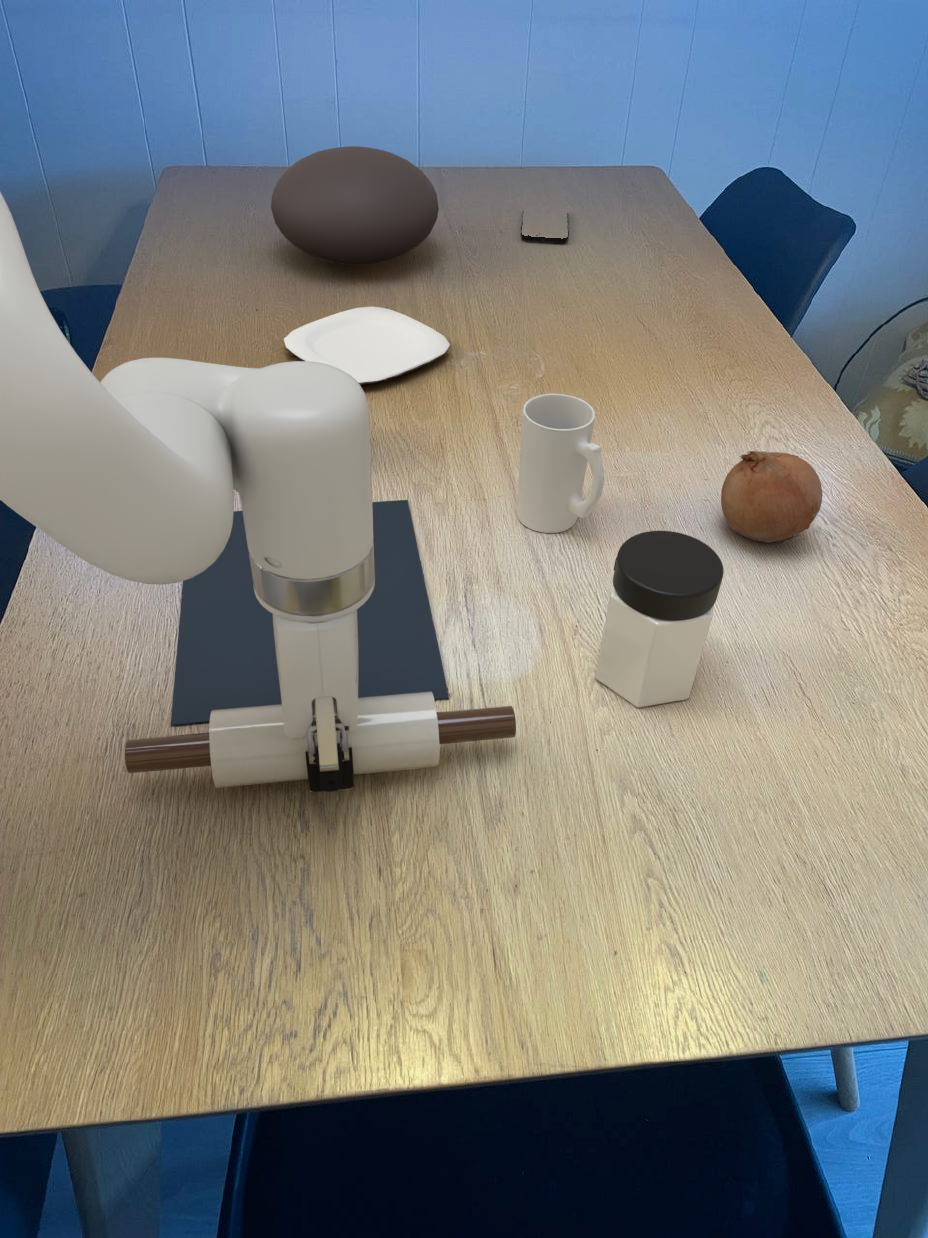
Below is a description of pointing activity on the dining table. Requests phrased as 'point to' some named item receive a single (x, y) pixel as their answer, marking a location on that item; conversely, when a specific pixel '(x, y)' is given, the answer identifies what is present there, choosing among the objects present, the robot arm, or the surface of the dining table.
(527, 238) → the smartphone
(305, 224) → the smooth stone
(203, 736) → the rolling pin
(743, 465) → the onion
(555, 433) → the mug
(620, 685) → the jar
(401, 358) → the plate
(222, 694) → the baking mat
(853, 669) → the dining table surface
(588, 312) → the dining table surface
